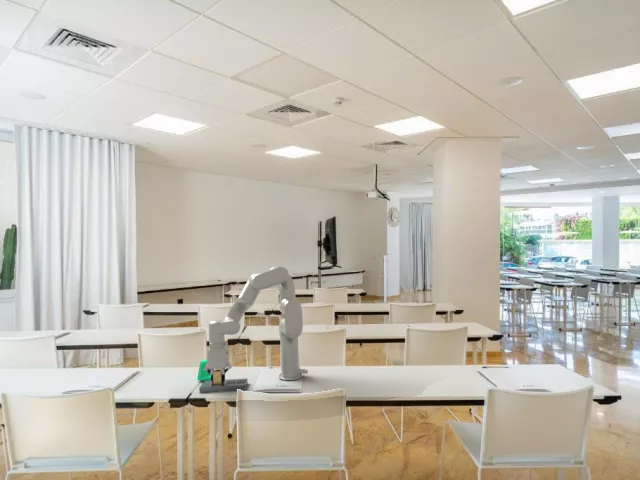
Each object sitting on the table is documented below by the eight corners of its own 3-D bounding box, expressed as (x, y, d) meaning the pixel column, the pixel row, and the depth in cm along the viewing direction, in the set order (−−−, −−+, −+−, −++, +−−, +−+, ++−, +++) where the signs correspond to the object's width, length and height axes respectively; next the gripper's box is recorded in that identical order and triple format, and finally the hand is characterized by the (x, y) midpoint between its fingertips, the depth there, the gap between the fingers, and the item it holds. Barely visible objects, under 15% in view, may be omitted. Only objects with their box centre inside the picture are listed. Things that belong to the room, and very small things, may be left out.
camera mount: (211, 382, 204) (211, 362, 204) (197, 382, 204) (197, 362, 205) (219, 375, 216) (218, 356, 216) (205, 375, 216) (205, 356, 217)
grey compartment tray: (247, 383, 199) (247, 378, 199) (245, 390, 189) (244, 384, 190) (204, 385, 198) (204, 380, 198) (199, 392, 188) (199, 387, 188)
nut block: (223, 382, 196) (222, 368, 196) (221, 385, 192) (221, 370, 192) (215, 383, 195) (214, 369, 196) (213, 386, 191) (212, 371, 192)
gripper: (235, 342, 199) (236, 378, 198) (201, 344, 197) (202, 380, 197) (232, 346, 191) (233, 383, 190) (198, 348, 190) (199, 385, 189)
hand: (218, 381), depth 194 cm, fingers closed on nut block, 4 cm apart
